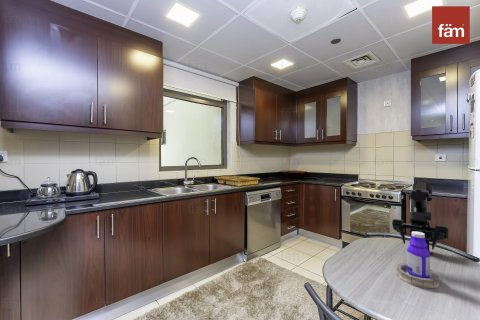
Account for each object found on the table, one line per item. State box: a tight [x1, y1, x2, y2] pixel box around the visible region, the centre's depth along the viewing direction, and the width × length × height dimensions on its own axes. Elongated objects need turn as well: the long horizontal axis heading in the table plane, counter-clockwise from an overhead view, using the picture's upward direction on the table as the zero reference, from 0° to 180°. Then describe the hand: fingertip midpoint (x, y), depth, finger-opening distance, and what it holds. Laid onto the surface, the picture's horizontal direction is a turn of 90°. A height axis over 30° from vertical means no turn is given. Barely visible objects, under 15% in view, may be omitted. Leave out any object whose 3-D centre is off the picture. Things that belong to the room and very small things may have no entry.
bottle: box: [406, 231, 431, 279], centre depth 87 cm, size 7×6×17 cm
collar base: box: [396, 262, 440, 290], centre depth 87 cm, size 13×13×3 cm
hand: (417, 246), depth 92 cm, fingers open, 9 cm apart
